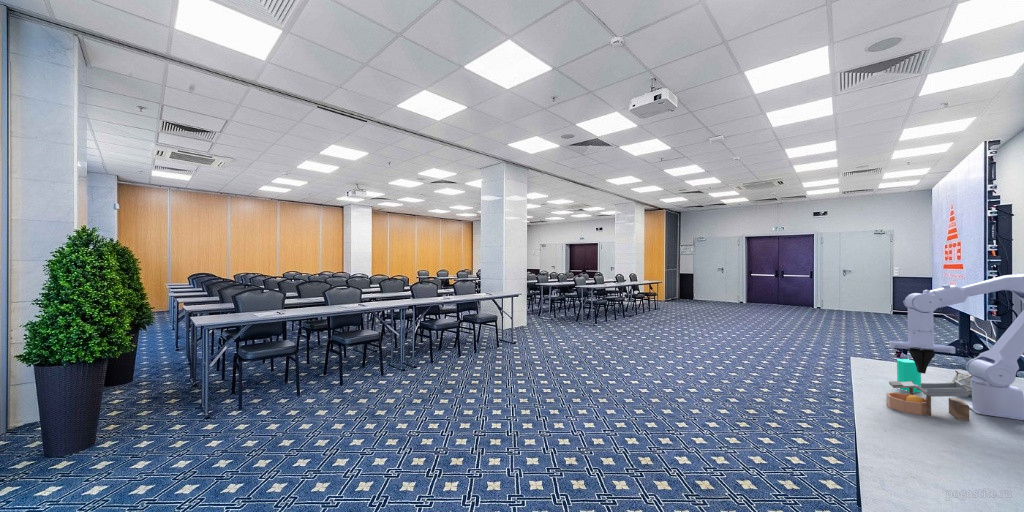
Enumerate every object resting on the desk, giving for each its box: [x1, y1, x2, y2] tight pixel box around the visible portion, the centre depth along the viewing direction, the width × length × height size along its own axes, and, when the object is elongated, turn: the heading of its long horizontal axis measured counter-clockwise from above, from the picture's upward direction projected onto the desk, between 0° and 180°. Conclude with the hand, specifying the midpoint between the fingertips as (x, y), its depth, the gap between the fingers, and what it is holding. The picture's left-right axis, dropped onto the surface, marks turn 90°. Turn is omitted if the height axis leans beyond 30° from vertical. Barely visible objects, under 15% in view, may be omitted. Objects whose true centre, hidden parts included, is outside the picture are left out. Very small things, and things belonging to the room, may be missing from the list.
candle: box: [896, 356, 922, 393], centre depth 137 cm, size 6×6×12 cm
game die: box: [948, 370, 972, 396], centre depth 130 cm, size 9×8×10 cm
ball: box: [906, 394, 924, 403], centre depth 118 cm, size 4×4×4 cm
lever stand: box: [908, 381, 970, 421], centre depth 118 cm, size 9×17×6 cm, turn 146°
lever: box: [888, 380, 969, 398], centre depth 120 cm, size 14×15×3 cm
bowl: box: [885, 392, 927, 416], centre depth 119 cm, size 9×9×4 cm
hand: (921, 372), depth 122 cm, fingers closed
